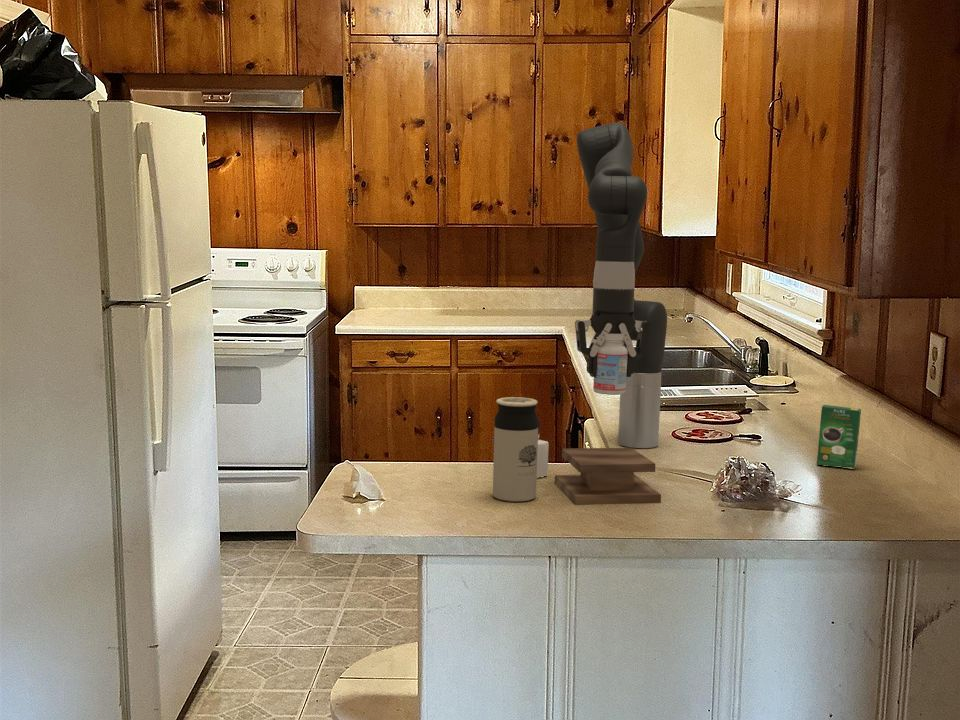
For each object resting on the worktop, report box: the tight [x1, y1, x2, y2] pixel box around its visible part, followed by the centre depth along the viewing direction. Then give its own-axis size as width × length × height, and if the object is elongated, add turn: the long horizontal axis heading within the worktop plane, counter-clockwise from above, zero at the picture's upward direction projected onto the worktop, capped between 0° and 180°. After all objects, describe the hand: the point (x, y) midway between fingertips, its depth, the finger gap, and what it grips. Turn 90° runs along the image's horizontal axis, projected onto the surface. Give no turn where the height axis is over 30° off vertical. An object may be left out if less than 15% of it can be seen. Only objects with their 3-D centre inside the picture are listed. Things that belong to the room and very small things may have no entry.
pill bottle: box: [592, 333, 628, 396], centre depth 193 cm, size 6×6×11 cm
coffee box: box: [816, 404, 862, 469], centre depth 221 cm, size 8×3×13 cm, turn 63°
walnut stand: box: [554, 447, 662, 505], centre depth 195 cm, size 16×16×7 cm
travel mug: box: [492, 396, 539, 503], centre depth 189 cm, size 8×8×18 cm
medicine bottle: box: [537, 418, 549, 479], centre depth 206 cm, size 7×7×12 cm
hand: (610, 376), depth 193 cm, fingers closed on pill bottle, 6 cm apart
